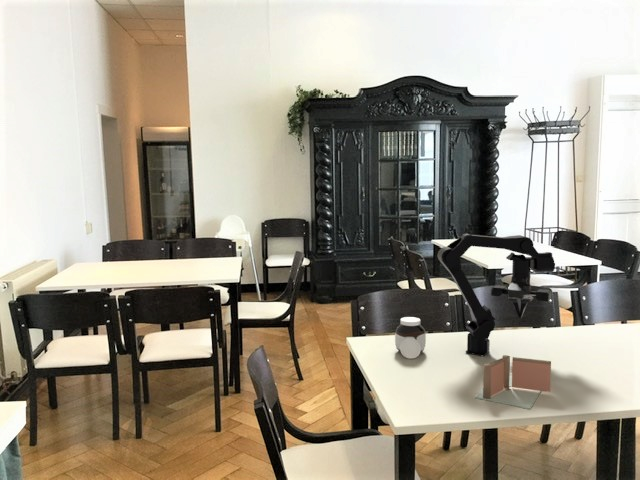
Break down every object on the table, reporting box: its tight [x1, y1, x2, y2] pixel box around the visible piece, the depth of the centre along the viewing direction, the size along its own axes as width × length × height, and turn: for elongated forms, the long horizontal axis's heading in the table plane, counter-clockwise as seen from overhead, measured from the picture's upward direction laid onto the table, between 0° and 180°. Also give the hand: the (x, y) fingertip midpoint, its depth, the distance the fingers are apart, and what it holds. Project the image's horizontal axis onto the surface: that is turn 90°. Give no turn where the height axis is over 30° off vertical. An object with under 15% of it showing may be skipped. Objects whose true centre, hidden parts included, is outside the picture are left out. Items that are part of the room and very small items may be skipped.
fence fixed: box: [482, 358, 512, 399], centre depth 149 cm, size 6×13×10 cm, turn 147°
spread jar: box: [394, 316, 427, 360], centre depth 183 cm, size 12×11×12 cm
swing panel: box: [501, 354, 552, 393], centre depth 150 cm, size 13×2×9 cm, turn 67°
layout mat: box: [474, 373, 542, 410], centre depth 151 cm, size 14×22×1 cm, turn 147°
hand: (520, 317), depth 183 cm, fingers closed
